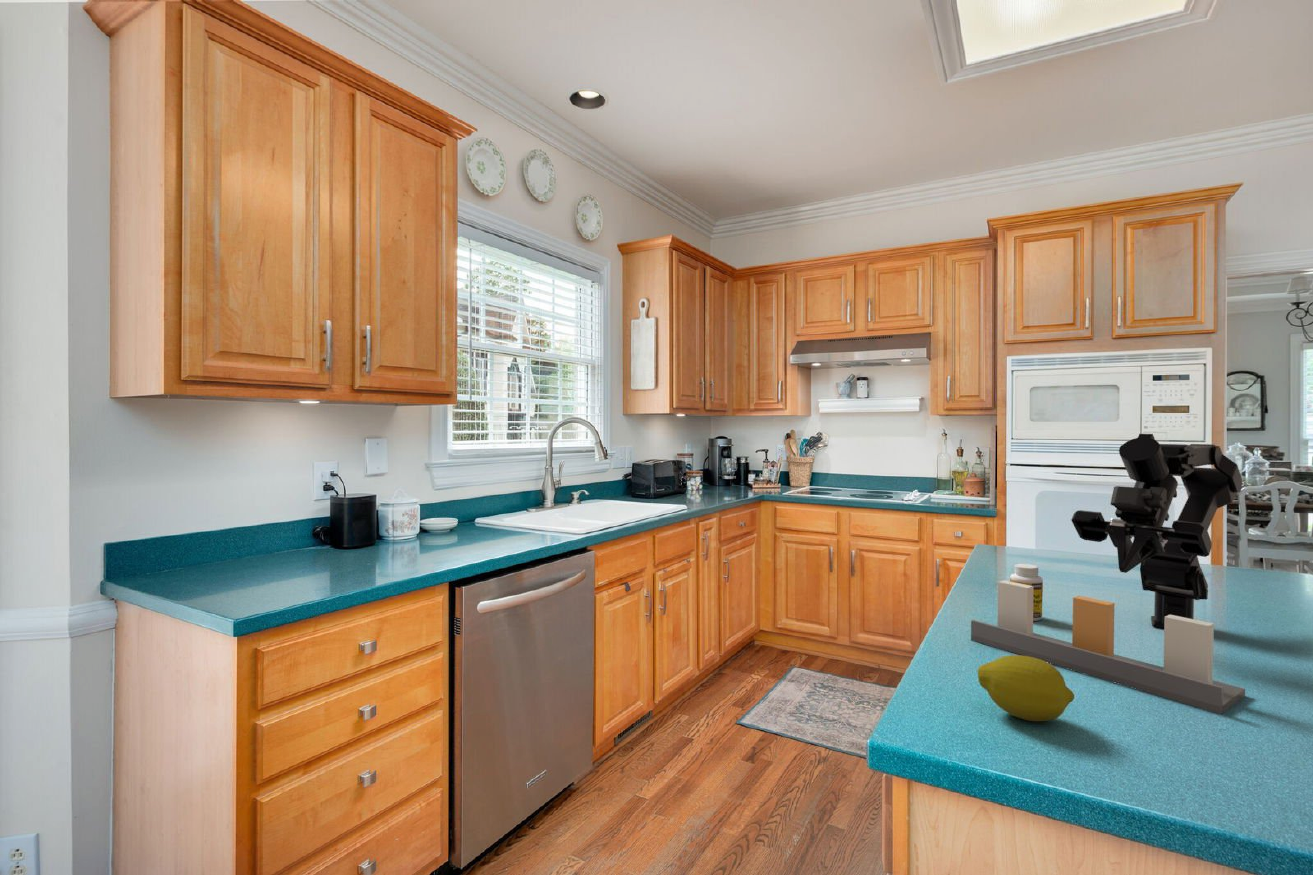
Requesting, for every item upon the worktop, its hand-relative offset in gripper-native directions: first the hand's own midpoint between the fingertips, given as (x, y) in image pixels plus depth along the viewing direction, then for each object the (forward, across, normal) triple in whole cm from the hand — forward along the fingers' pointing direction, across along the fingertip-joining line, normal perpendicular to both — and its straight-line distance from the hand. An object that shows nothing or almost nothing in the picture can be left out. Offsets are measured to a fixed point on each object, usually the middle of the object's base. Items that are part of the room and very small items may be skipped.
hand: (1122, 570), depth 106 cm
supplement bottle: (+6, -18, +14) cm, 24 cm away
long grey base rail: (+17, 0, +2) cm, 17 cm away
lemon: (+36, +3, -17) cm, 40 cm away
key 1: (+16, -12, +1) cm, 20 cm away
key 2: (+16, +12, +1) cm, 20 cm away
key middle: (+16, 0, +1) cm, 16 cm away
